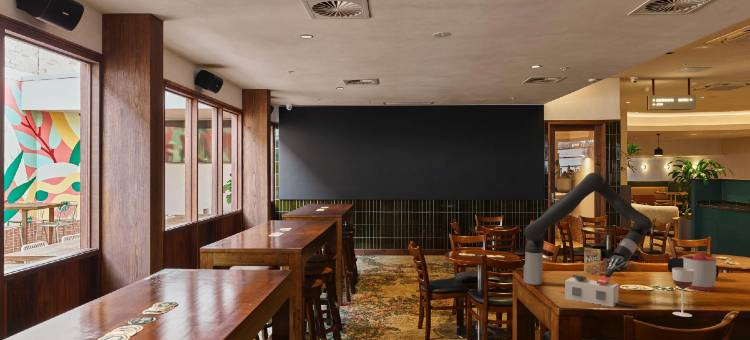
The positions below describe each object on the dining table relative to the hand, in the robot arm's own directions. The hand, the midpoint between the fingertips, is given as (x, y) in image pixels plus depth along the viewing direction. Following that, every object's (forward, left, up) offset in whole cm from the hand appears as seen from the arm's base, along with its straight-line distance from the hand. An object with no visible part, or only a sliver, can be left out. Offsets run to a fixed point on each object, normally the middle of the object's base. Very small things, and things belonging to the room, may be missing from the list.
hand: (606, 276), depth 252 cm
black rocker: (-11, -5, -3) cm, 12 cm away
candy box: (-24, +65, -12) cm, 70 cm away
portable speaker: (+25, +99, -12) cm, 103 cm away
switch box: (-2, -5, -12) cm, 13 cm away
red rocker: (0, -4, -3) cm, 5 cm away
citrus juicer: (+32, +63, -12) cm, 72 cm away
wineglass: (+32, -3, -12) cm, 35 cm away
